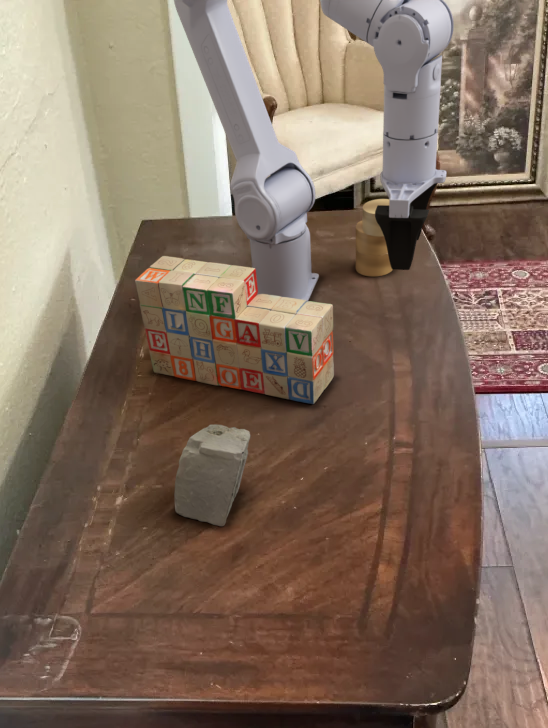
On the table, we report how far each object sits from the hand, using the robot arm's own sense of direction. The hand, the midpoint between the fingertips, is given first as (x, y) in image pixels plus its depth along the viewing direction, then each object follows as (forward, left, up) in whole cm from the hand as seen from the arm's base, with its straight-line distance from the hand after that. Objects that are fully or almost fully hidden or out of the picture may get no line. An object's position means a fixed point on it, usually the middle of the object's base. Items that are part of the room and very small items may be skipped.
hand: (405, 253), depth 101 cm
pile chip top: (-15, -6, -6) cm, 17 cm away
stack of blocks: (+14, -17, -10) cm, 24 cm away
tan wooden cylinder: (-14, -5, -3) cm, 15 cm away
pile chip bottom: (-15, -6, -9) cm, 19 cm away
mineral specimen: (+36, -13, -10) cm, 39 cm away
